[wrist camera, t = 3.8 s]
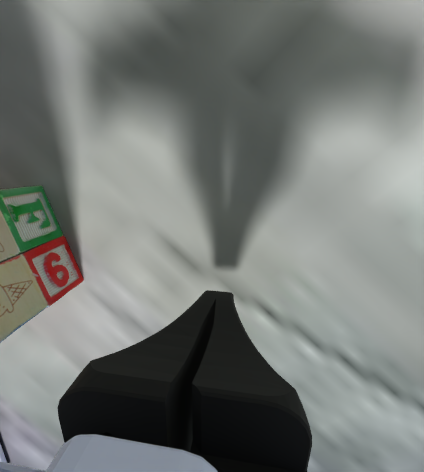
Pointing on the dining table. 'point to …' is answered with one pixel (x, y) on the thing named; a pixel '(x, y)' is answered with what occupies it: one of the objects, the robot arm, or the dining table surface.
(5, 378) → the dining table surface
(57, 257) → the stack of blocks
